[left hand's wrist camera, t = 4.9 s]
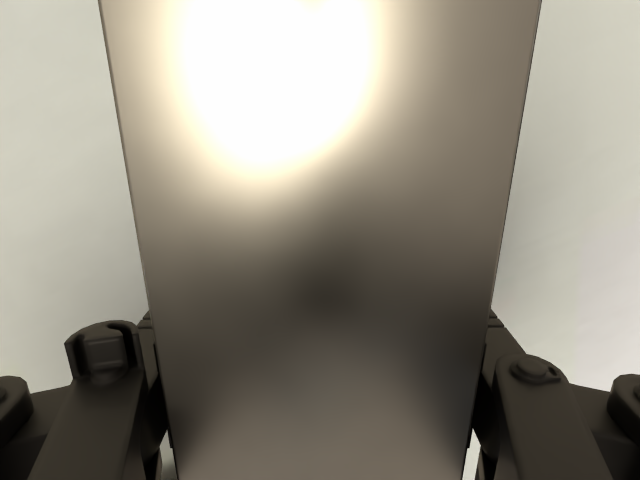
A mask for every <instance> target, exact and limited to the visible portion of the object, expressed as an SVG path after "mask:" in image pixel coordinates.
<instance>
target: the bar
mask: <svg viewBox="0 0 640 480" xmlns="http://www.w3.org/2000/svg"><path fill="white" fill-rule="evenodd" d="M541 3H542V0H98V4H99V10H100V16H101V22H102V28H103V34H104V40H105V46H106V52H107V59H108V65H109V71H110V77H111V83H112V89H113V95H114V101H115V107H116V113H117V119H118V125H119V131H120V137H121V143H122V149H123V155H124V161H125V167H126V173H127V179H128V185H129V191H130V197H131V203H132V209H133V215H134V221H135V227H136V233H137V239H138V245H139V251H140V257H141V263H142V269H143V275H144V281H145V287H146V293H147V299H148V305H149V311H150V317H151V323H152V329H153V335H154V341H155V347H156V353H157V359H158V365H159V371H160V377H161V383H162V389H163V395H164V401H165V407H166V413H167V419H168V425H169V431H170V437H171V443H172V449H173V455H174V461H175V467H176V473H177V479H178V480H462V477H463V471H464V465H465V459H466V453H467V447H468V441H469V435H470V429H471V423H472V417H473V411H474V405H475V399H476V393H477V387H478V381H479V375H480V369H481V363H482V357H483V351H484V345H485V339H486V333H487V327H488V321H489V315H490V309H491V303H492V297H493V291H494V285H495V279H496V273H497V267H498V261H499V255H500V249H501V243H502V237H503V231H504V225H505V219H506V213H507V207H508V201H509V195H510V189H511V183H512V177H513V171H514V165H515V159H516V153H517V147H518V141H519V135H520V129H521V123H522V117H523V111H524V105H525V99H526V93H527V87H528V81H529V75H530V69H531V63H532V57H533V51H534V45H535V39H536V33H537V27H538V21H539V15H540V9H541Z"/></svg>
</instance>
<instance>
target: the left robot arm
mask: <svg viewBox="0 0 640 480" xmlns="http://www.w3.org/2000/svg"><path fill="white" fill-rule="evenodd" d="M64 345H65V349H66V353H67V357H68V361H69V364H70V368H71V372H72V376H73V380H72V382H71V385H69V386H65V387H61V388H56V389H51V390H46V391H42V392H37V393H32V394H30V392H29V389H28V386H27V382H26V381H24V380H23V379H22V378H21V377H15V376H3V377H0V480H160V478H161V470H162V459H161V453H160V447H159V446H160V444H161V442H162V440H163V437H164V435H165V433H166V431H168V437H169V443H170V448H172V443H171V437H170V431H169V425H168V419H167V413H166V407H165V401H164V395H163V389H162V383H161V377H160V371H159V365H158V359H157V353H156V347H155V341H154V335H153V329H152V323H151V317H150V311H148V312H147V313H146V314H145V316H144V317H143V320H141V321H140V322H139V323H138V325H137V326H136V325H135V324H133V323H132V322H128V321H123V320H113V321H105V322H100V323H96V324H93V325H90V326H88V327H85V328H83V329H81V330H79V331H78V332H76V333H74V334H73V335H71V336H70V337H69V338H68V339H67V341H66V342H65V343H64ZM472 429H474V431H475V434H476V436H477V438H478V440H479V443H480V445H481V447H480V453H479V458H478V464H477V469H476V475H475V480H640V375H636V374H626V375H620V376H619V377H617V378H616V379H615V380H614V381H613V385H612V388H611V391H610V392H607V391H602V390H597V389H592V388H588V387H583V386H578V385H574V384H571V383H569V382H568V380H567V378H566V376H565V375H564V374H563V372H562V371H561V370H560V369H559V368H557V367H556V366H554V365H553V364H552V363H550V362H548V361H546V360H544V359H541V358H539V357H537V356H533V355H529V354H526V353H525V351H524V350H523V349H522V348H521V346H520V345H519V344H518V343H517V341H516V340H515V339H514V337H513V336H512V335H511V334H510V332H509V331H508V330H507V328H504V325H503V323H502V322H501V321H500V320H499V319H497V316H496V314H495V313H494V312H493V311H492V309H490V315H489V321H488V327H487V333H486V339H485V345H484V351H483V357H482V363H481V369H480V375H479V381H478V387H477V393H476V399H475V405H474V411H473V417H472V423H471V429H470V435H469V441H468V447H467V448H469V447H470V441H471V435H472Z"/></svg>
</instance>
